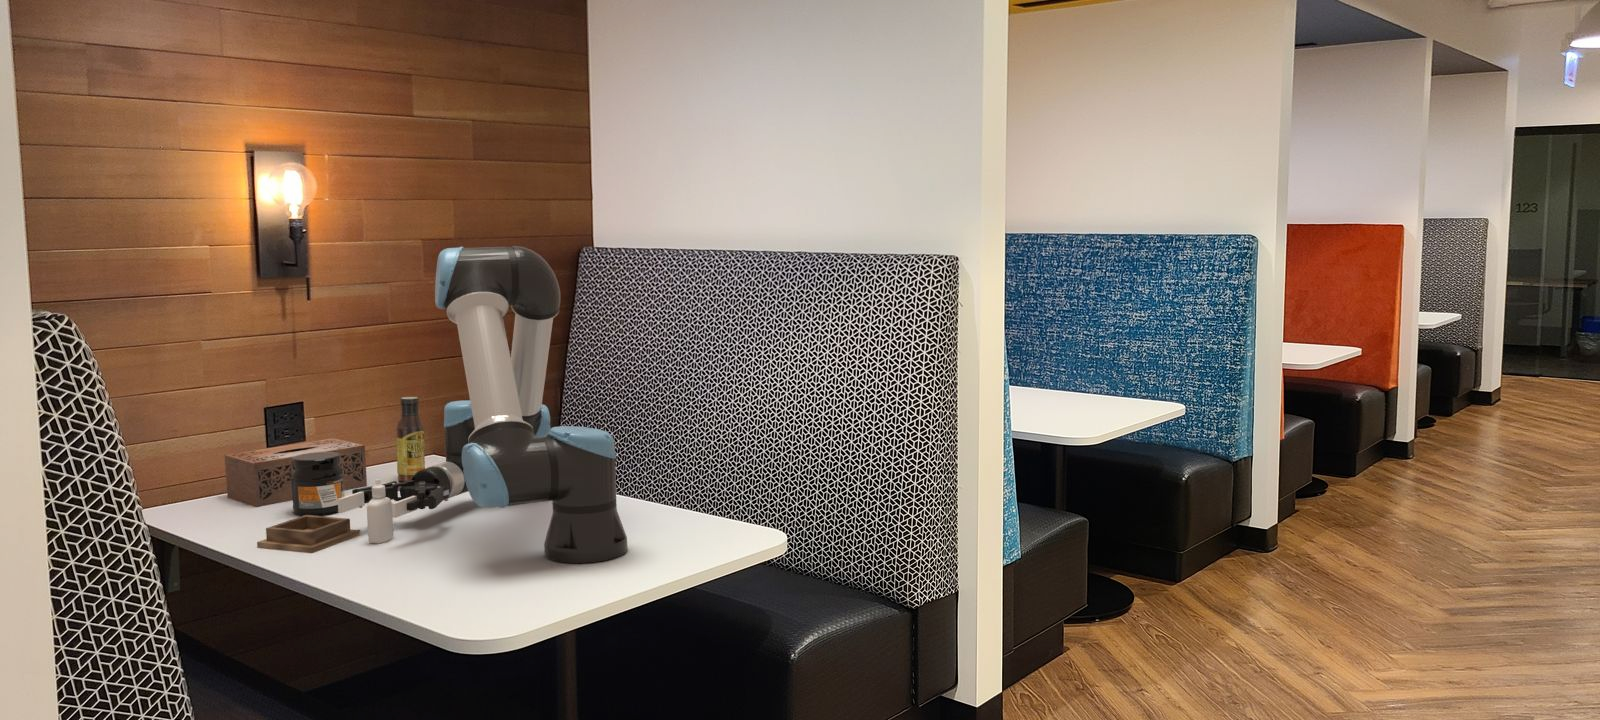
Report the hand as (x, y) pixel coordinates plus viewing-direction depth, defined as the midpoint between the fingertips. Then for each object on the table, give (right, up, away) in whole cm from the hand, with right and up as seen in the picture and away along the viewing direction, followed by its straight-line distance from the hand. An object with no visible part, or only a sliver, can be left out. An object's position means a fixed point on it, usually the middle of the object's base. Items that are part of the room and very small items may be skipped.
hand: (366, 508), depth 223 cm
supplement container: (-20, -4, +28) cm, 35 cm away
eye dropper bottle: (+1, -7, +4) cm, 8 cm away
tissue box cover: (-33, -3, +47) cm, 57 cm away
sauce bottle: (-10, -1, +57) cm, 58 cm away
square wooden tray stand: (-13, -7, +4) cm, 15 cm away
